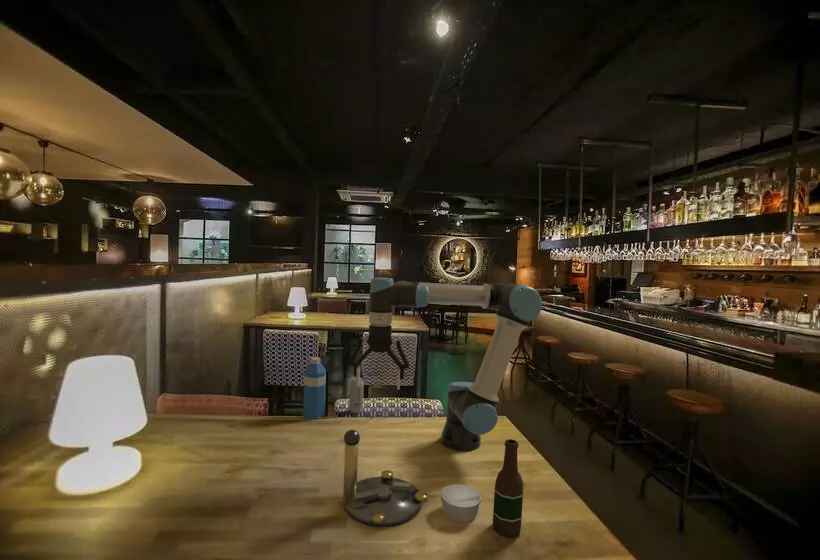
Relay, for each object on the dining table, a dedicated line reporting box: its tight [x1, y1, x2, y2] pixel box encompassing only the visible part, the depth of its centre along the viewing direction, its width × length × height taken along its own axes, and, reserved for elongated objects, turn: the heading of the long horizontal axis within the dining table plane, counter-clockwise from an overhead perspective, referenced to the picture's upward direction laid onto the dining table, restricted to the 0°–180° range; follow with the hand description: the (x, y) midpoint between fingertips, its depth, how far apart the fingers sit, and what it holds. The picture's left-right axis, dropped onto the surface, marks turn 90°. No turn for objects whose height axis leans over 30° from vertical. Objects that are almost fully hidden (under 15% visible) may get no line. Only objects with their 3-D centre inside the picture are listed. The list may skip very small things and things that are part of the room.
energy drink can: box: [348, 376, 365, 415], centre depth 195 cm, size 6×6×15 cm
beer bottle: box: [492, 438, 524, 539], centre depth 116 cm, size 8×8×24 cm
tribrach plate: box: [343, 469, 429, 528], centre depth 126 cm, size 24×26×3 cm
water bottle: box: [302, 356, 327, 420], centre depth 189 cm, size 9×9×25 cm
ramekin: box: [440, 484, 482, 523], centre depth 123 cm, size 11×11×5 cm
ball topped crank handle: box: [342, 429, 392, 506], centre depth 123 cm, size 15×5×21 cm, turn 117°
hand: (378, 387), depth 147 cm, fingers open, 13 cm apart
